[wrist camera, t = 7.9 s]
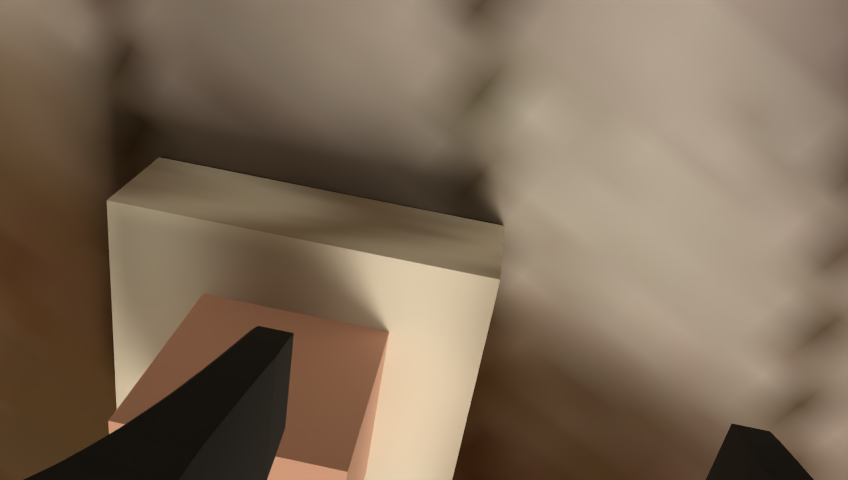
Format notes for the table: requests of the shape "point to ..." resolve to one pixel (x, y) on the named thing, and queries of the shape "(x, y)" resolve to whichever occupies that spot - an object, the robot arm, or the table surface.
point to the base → (314, 288)
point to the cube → (308, 388)
